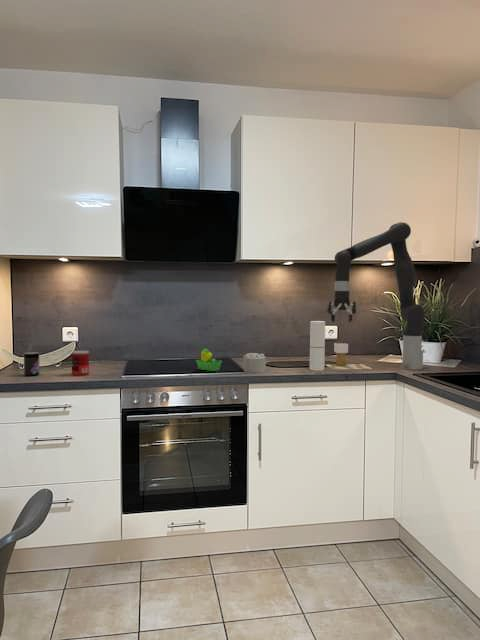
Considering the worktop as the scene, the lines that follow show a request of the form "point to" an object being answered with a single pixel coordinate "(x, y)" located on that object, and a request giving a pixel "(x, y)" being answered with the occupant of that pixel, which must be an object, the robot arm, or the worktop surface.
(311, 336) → the cylindrical container
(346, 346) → the white minus sign cube
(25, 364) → the supplement container
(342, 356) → the bottle
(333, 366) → the board
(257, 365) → the lumpy-topped squat cylinder
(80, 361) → the canned food
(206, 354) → the fruit basket
